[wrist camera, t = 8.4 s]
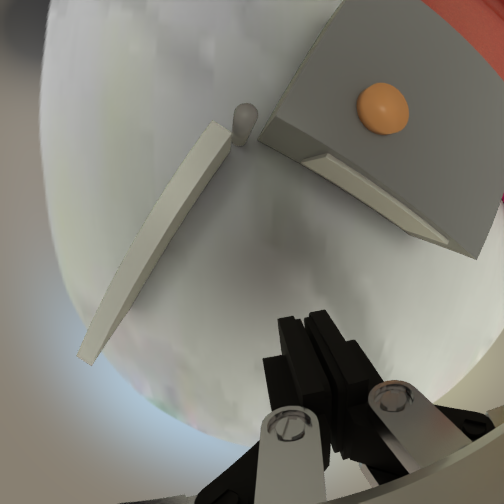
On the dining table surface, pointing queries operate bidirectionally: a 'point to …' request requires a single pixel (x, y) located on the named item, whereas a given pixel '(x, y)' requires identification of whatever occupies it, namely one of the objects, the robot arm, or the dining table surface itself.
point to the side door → (164, 226)
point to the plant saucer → (477, 26)
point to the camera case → (400, 120)
